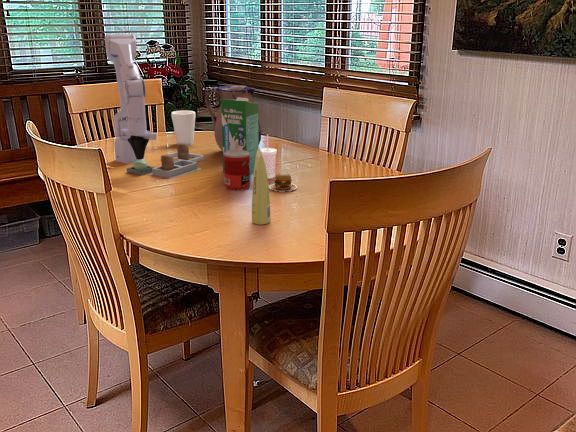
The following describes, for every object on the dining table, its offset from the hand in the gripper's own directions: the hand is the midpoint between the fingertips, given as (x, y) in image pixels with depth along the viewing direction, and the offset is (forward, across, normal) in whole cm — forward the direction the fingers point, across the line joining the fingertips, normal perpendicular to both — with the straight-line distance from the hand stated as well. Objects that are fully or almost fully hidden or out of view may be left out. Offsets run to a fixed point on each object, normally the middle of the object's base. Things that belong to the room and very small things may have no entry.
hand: (140, 158), depth 190 cm
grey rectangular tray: (+5, +9, +7) cm, 13 cm away
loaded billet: (+4, +9, +4) cm, 11 cm away
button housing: (+5, 0, 0) cm, 5 cm away
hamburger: (+6, +47, +14) cm, 50 cm away
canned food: (+6, +35, +7) cm, 36 cm away
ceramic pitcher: (+6, +7, +41) cm, 42 cm away
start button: (+4, 0, 0) cm, 4 cm away
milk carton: (+6, +25, +22) cm, 34 cm away
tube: (+6, +59, -14) cm, 61 cm away
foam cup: (+5, -19, +42) cm, 47 cm away
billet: (+5, 0, +21) cm, 21 cm away
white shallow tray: (+5, 0, +21) cm, 21 cm away
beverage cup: (+6, +36, +22) cm, 43 cm away
